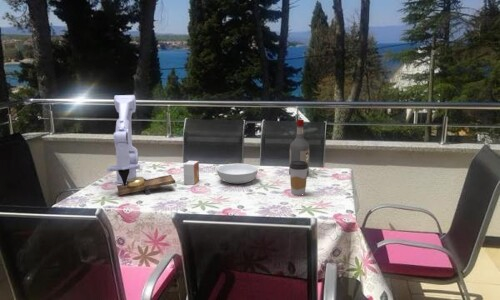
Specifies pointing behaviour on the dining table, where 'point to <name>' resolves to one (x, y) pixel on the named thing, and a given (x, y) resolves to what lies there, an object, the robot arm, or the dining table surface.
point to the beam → (151, 182)
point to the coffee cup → (298, 177)
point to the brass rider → (135, 182)
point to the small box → (191, 172)
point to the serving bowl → (237, 173)
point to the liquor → (299, 147)
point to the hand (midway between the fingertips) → (124, 185)
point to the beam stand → (147, 189)
